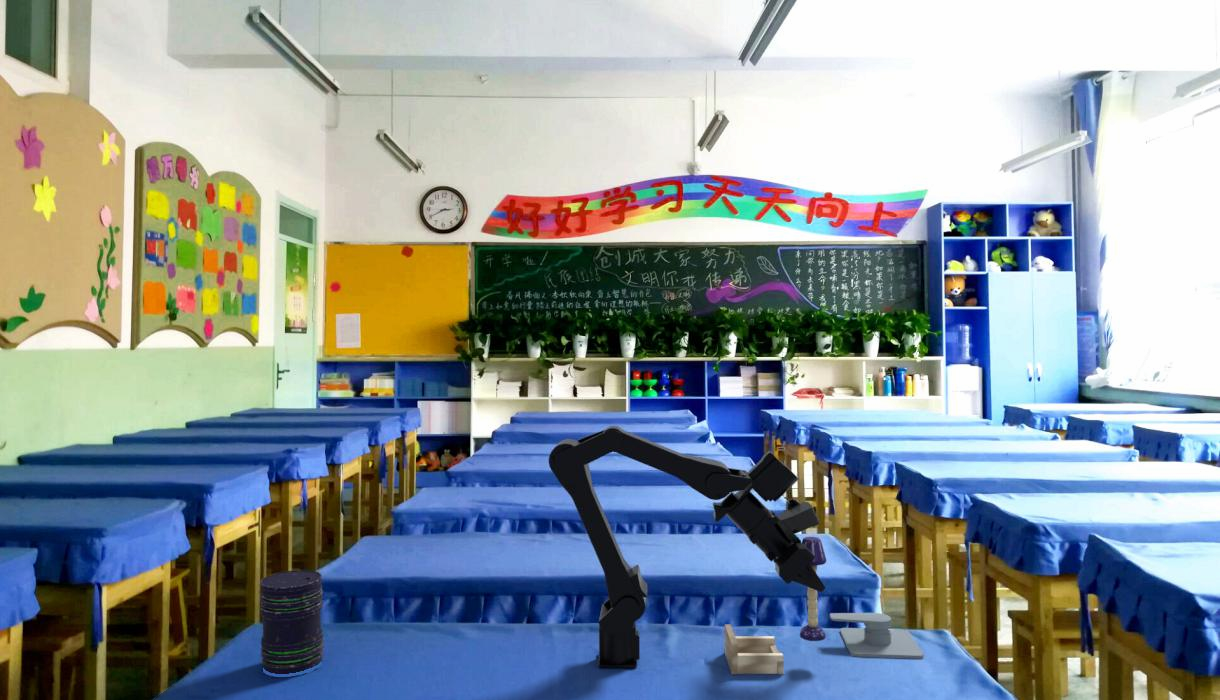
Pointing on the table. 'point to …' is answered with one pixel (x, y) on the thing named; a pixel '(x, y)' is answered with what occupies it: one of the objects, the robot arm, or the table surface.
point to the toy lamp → (813, 593)
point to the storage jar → (291, 621)
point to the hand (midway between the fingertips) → (820, 585)
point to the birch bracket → (752, 654)
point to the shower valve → (876, 637)
